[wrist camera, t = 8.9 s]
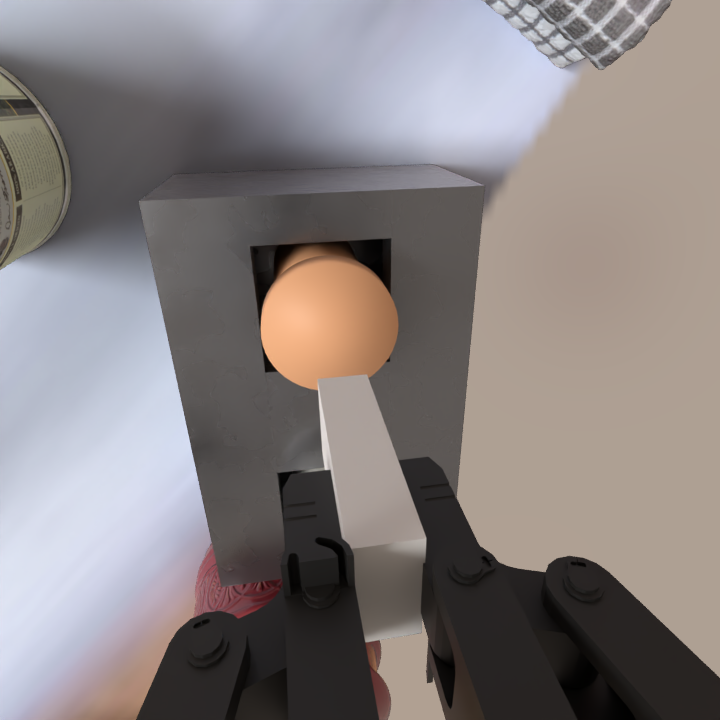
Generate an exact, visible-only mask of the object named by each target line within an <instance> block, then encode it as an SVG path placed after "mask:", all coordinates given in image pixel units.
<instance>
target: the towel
mask: <svg viewBox="0 0 720 720" xmlns="http://www.w3.org/2000/svg"><path fill="white" fill-rule="evenodd" d="M482 1H484V2H486V3H487V4H488V5H489V6H490V7H491V8H492V9H493V10H494V11H495V12H496V13H498V14H500V15H502V16H503V17H504V18H505V19H506V21H508V22H509V23H510V24H511V26H512V27H513V28H516V29H519V30H520V32H521V34H522V35H523V36H524V37H526V38H527V39H528V40H529V41H532V42H533V44H534V45H535V47H536V49H537V50H538V51H539V52H541V53H543V54H544V55H546V56H547V57H548V59H549V60H550V61H551V62H552V63H553V64H554V65H555V66H556V67H559V68H564V67H565V66H567V65H568V64H571V63H573V62H574V61H575V62H577V61H579V60H582V59H585V58H589V59H590V61H591V62H592V64H593V65H594V66H595V67H596V68H598V69H599V70H603V69H604V68H606V66H608V65H611V64H612V63H613V62H614V61H615V60H617V59H618V58H619V57H620V56H621V55H623V54H624V52H625V51H627V50H629V49H631V48H634V47H635V46H636V45H637V44H638V43H639V42H641V41H642V40H643V38H644V37H645V35H646V34H647V32H648V30H649V28H650V26H651V25H652V24H653V23H655V22H656V21H657V20H659V19H660V17H661V16H662V14H663V13H664V11H665V10H666V9H667V8H668V7H669V6H670V3H671V1H672V0H482Z"/></svg>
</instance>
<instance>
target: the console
mask: <svg viewBox="0 0 720 720" xmlns="http://www.w3.org/2000/svg"><path fill="white" fill-rule="evenodd" d="M484 190H485V185H482V184H480V183H477V182H475V181H473V180H470V179H468V178H465V177H463V176H460V175H458V174H455V173H453V172H450V171H448V170H446V169H443V168H441V167H438V166H436V165H433V164H424V165H398V166H372V167H347V168H321V169H295V170H269V171H244V172H218V173H192V174H174V175H173V176H171V177H170V178H169V179H167V180H166V181H165V182H163V183H162V184H161V185H159V186H158V187H157V188H155V189H154V190H153V191H151V192H150V193H149V194H147V195H146V196H145V197H143V198H142V199H141V200H139V206H140V210H141V215H142V220H143V224H144V229H145V234H146V238H147V243H148V248H149V252H150V257H151V262H152V266H153V271H154V276H155V280H156V285H157V290H158V294H159V299H160V304H161V308H162V313H163V318H164V322H165V327H166V332H167V336H168V341H169V346H170V350H171V355H172V359H173V364H174V369H175V373H176V378H177V383H178V387H179V392H180V397H181V401H182V406H183V411H184V415H185V420H186V425H187V429H188V434H189V439H190V443H191V448H192V453H193V457H194V462H195V467H196V471H197V476H198V481H199V485H200V490H201V495H202V499H203V504H204V508H205V513H206V518H207V522H208V527H209V532H210V536H211V541H212V546H213V550H214V555H215V560H216V564H217V569H218V574H219V578H220V583H221V587H226V586H233V585H241V584H248V583H255V582H262V581H269V580H277V579H282V575H281V567H280V564H281V560H282V555H283V553H284V551H285V541H284V510H283V509H284V507H283V488H284V486H285V484H286V482H287V480H288V478H289V477H290V475H291V474H293V471H298V470H307V469H315V468H324V460H323V454H322V440H321V425H320V410H319V396H318V390H314V389H309V388H306V387H303V386H300V385H298V384H296V383H293V382H292V381H290V380H288V379H287V378H285V377H284V376H283V375H282V374H281V373H279V372H278V370H277V369H276V368H275V367H274V366H273V365H272V363H271V362H270V360H269V359H268V357H267V355H266V353H265V350H264V347H263V344H262V339H261V315H262V307H263V303H264V300H265V297H266V295H267V292H268V291H269V289H270V287H271V285H272V284H273V283H274V256H275V252H276V250H277V247H278V246H279V245H281V244H298V243H316V242H334V241H348V243H349V244H350V246H351V248H352V250H353V252H354V254H355V256H356V257H357V259H358V261H359V262H360V263H361V264H363V265H365V266H367V267H368V268H369V269H370V270H372V271H373V272H374V273H375V274H376V275H377V276H378V277H379V278H380V280H381V281H382V282H383V284H384V285H385V287H386V289H387V290H388V292H389V294H390V296H391V298H392V299H393V301H394V304H395V307H396V310H397V315H398V335H397V339H396V343H395V346H394V348H393V351H392V353H391V354H390V356H389V358H388V359H387V361H386V362H385V364H384V365H383V366H382V367H381V368H380V369H379V370H378V371H377V372H376V373H375V374H373V375H372V376H371V377H369V378H368V379H369V381H370V384H371V387H372V390H373V392H374V395H375V398H376V401H377V403H378V406H379V409H380V412H381V414H382V417H383V420H384V423H385V425H386V428H387V431H388V434H389V436H390V439H391V442H392V445H393V448H394V450H395V453H396V456H397V459H398V460H404V459H413V458H421V457H429V458H431V459H432V460H433V461H434V462H435V463H437V464H438V465H439V466H440V467H441V468H442V469H443V471H444V473H445V475H446V477H447V479H448V481H449V485H450V486H451V488H452V490H453V492H454V494H455V498H457V497H456V496H457V487H458V476H459V465H460V454H461V443H462V432H463V420H464V409H465V399H466V387H467V376H468V365H469V355H470V344H471V332H472V322H473V310H474V300H475V289H476V278H477V267H478V255H479V245H480V234H481V223H482V212H483V201H484Z"/></svg>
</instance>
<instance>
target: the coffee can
mask: <svg viewBox="0 0 720 720" xmlns="http://www.w3.org/2000/svg"><path fill="white" fill-rule="evenodd" d="M70 197H71V172H70V166H69V158H68V155H67V152H66V150H65V147H64V144H63V141H62V139H61V136H60V134H59V132H58V130H57V128H56V126H55V124H54V122H53V121H52V119H51V118H50V116H49V114H48V113H47V112H46V110H45V109H44V107H43V106H42V104H41V103H40V102H39V101H38V100H37V99H36V97H35V96H34V95H33V94H32V93H31V92H30V91H29V90H28V89H27V88H26V87H25V86H24V85H23V84H22V83H21V82H20V81H19V80H18V79H17V78H16V77H15V76H13V75H12V74H10V73H9V72H8V71H6V70H5V69H3V68H2V67H0V270H1V269H2V268H4V267H5V266H7V265H9V264H10V263H12V262H13V261H15V260H16V259H18V258H19V257H21V256H22V255H25V254H27V253H29V252H31V251H33V250H35V249H37V248H38V247H40V246H41V245H42V244H44V243H45V242H46V241H47V240H48V239H49V238H51V237H52V236H53V235H54V234H55V232H56V231H57V230H58V228H59V226H60V224H61V223H62V221H63V219H64V217H65V215H66V212H67V209H68V206H69V202H70Z"/></svg>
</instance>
